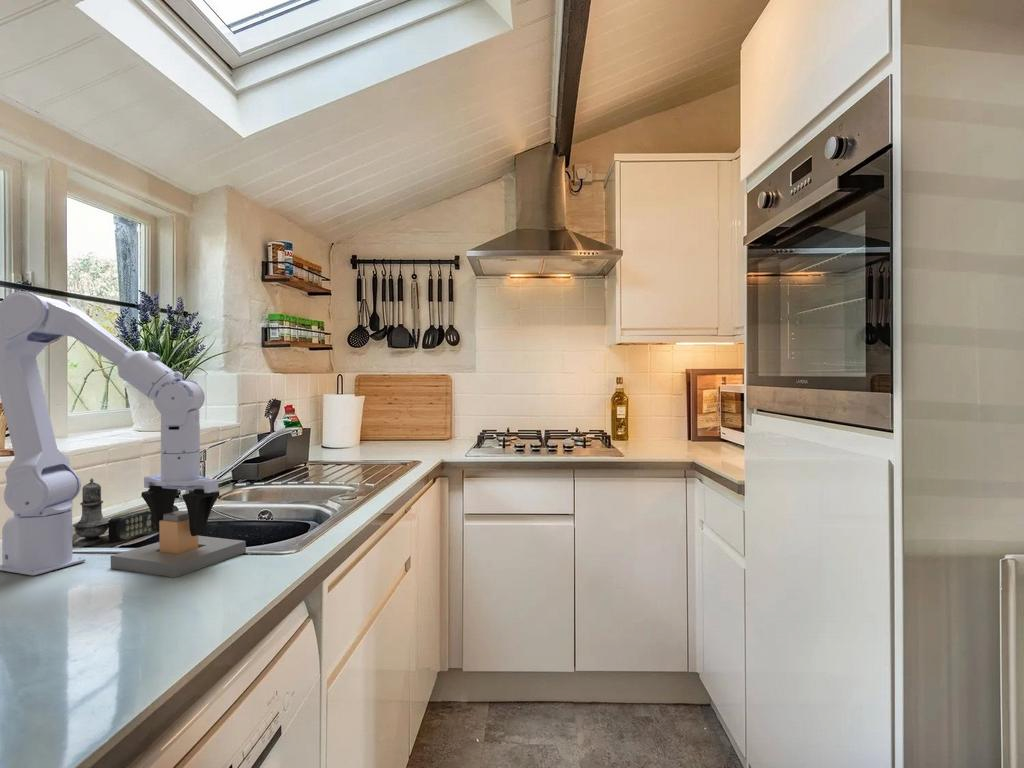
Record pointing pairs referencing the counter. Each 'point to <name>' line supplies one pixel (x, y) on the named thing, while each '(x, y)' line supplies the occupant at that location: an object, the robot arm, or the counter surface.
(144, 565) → the socket plate
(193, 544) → the plug
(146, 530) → the mobile phone
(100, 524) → the salt shaker
